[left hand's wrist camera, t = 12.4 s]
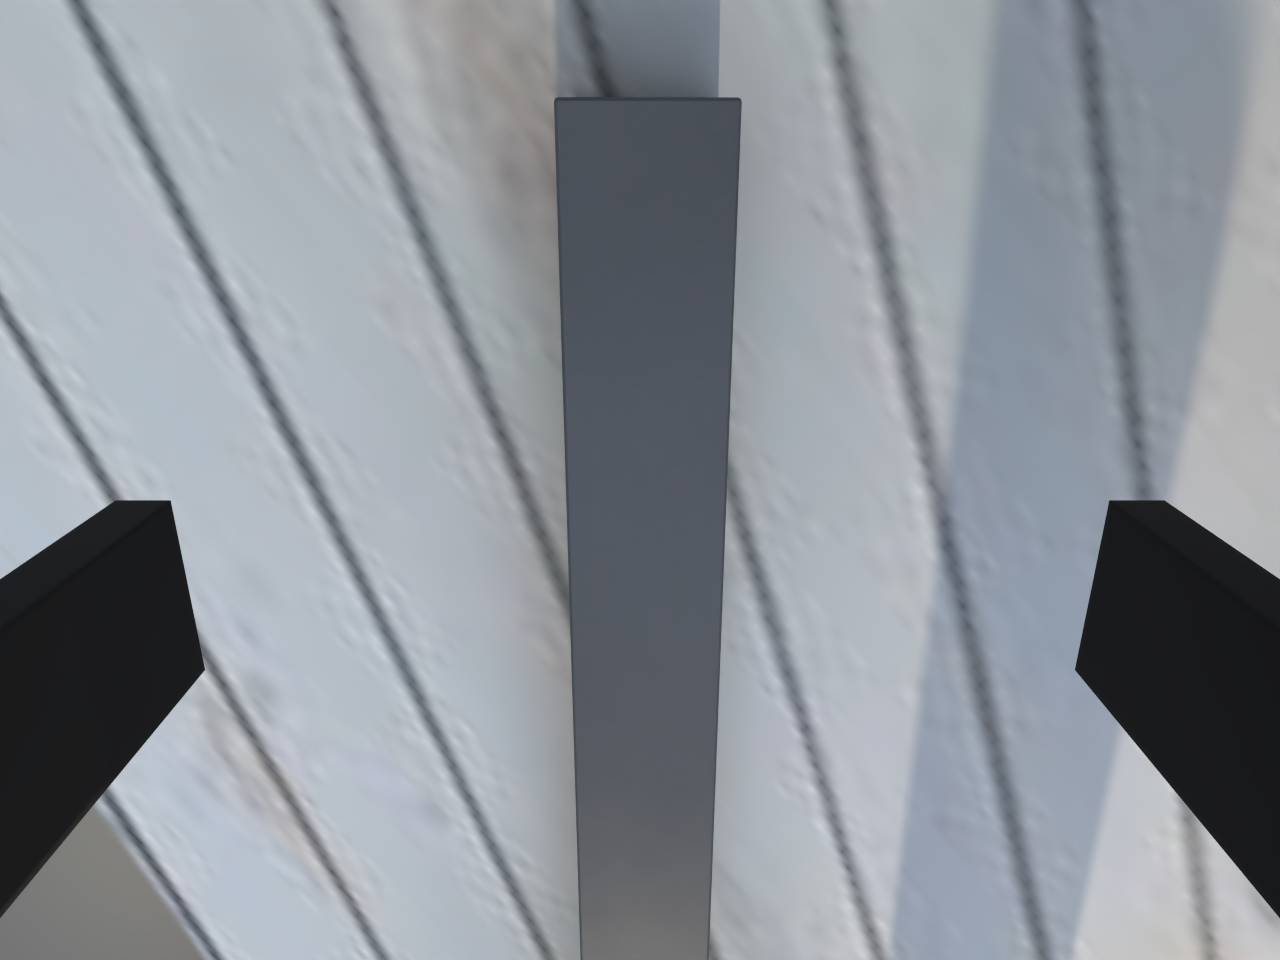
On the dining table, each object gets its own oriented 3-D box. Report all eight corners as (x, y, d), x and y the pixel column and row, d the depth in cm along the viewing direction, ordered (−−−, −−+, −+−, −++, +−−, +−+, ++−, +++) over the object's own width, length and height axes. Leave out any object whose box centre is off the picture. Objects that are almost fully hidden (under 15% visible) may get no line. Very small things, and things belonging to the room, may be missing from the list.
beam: (573, 107, 30) (553, 97, 24) (718, 107, 30) (742, 97, 24) (600, 1246, 53) (594, 1413, 46) (684, 1246, 53) (691, 1413, 46)
